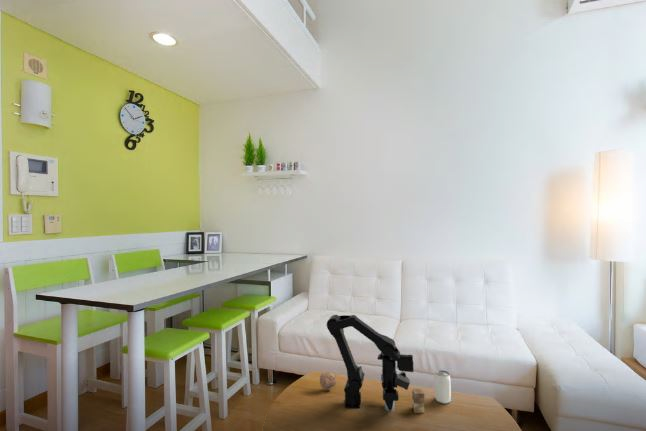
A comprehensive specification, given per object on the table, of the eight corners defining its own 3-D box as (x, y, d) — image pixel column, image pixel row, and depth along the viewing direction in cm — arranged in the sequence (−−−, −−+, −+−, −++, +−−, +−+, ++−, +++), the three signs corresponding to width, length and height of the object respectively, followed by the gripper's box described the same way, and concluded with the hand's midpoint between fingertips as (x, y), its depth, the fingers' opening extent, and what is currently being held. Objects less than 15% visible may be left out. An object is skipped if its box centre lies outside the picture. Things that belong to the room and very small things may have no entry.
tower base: (414, 412, 142) (414, 402, 142) (413, 407, 146) (412, 397, 146) (424, 413, 142) (424, 403, 142) (422, 407, 146) (422, 398, 146)
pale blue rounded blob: (385, 411, 144) (385, 401, 144) (384, 405, 148) (384, 396, 148) (394, 411, 143) (394, 402, 143) (394, 406, 147) (393, 397, 147)
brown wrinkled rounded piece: (336, 387, 165) (336, 370, 165) (335, 393, 158) (335, 376, 158) (320, 386, 165) (320, 370, 165) (319, 393, 159) (319, 376, 159)
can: (452, 404, 148) (451, 377, 148) (436, 403, 149) (435, 375, 149) (449, 396, 154) (449, 370, 154) (434, 395, 155) (434, 369, 155)
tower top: (415, 403, 142) (414, 393, 142) (412, 398, 146) (412, 388, 146) (424, 403, 142) (424, 393, 142) (421, 398, 146) (421, 388, 146)
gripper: (411, 380, 135) (411, 420, 135) (405, 361, 154) (406, 395, 154) (382, 379, 137) (383, 418, 137) (380, 360, 155) (381, 394, 155)
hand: (389, 406), depth 145 cm, fingers open, 6 cm apart
